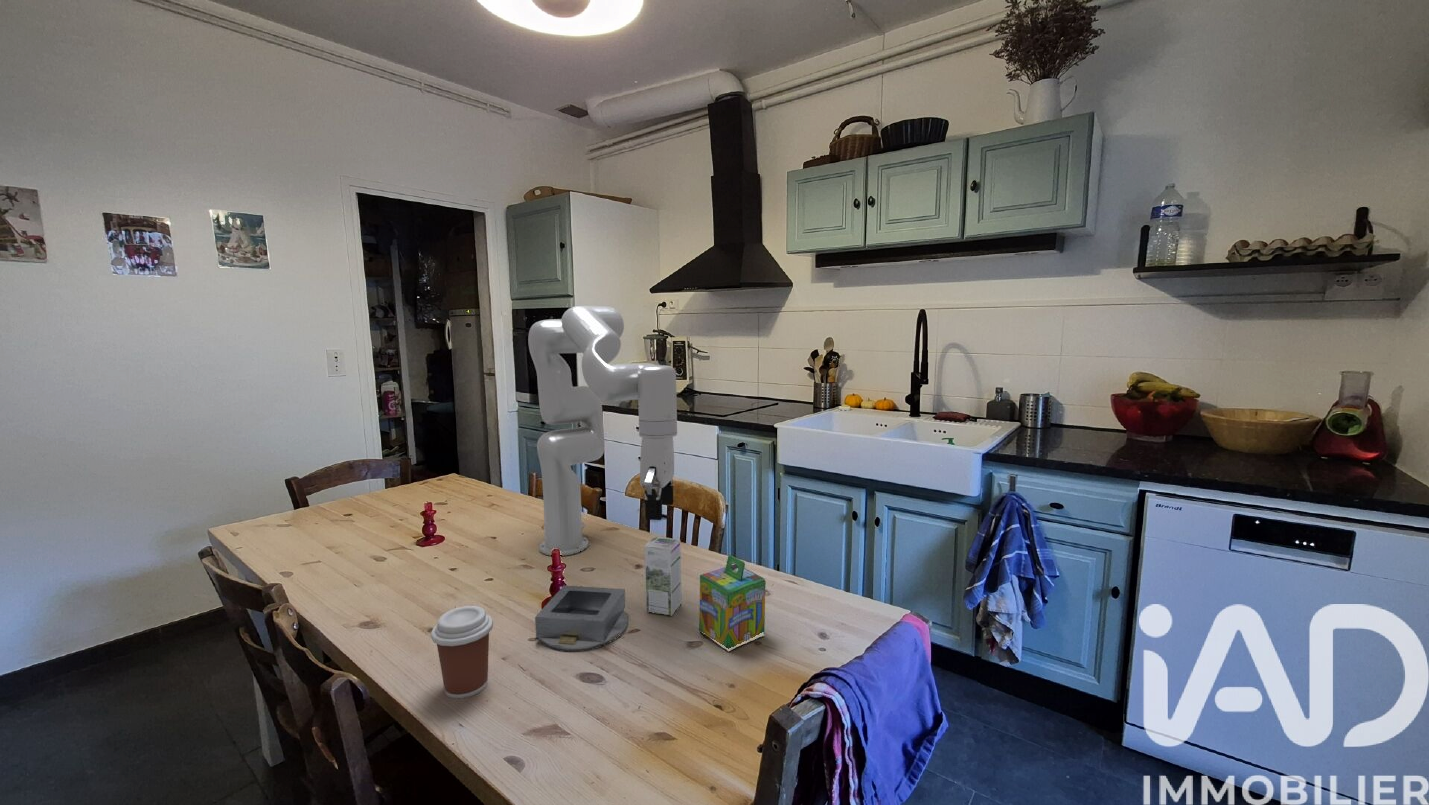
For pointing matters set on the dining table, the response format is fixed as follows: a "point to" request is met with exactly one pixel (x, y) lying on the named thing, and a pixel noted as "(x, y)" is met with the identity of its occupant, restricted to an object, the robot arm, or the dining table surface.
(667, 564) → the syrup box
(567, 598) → the open box
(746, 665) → the dining table surface
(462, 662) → the coffee cup
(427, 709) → the dining table surface
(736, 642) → the chalk box
